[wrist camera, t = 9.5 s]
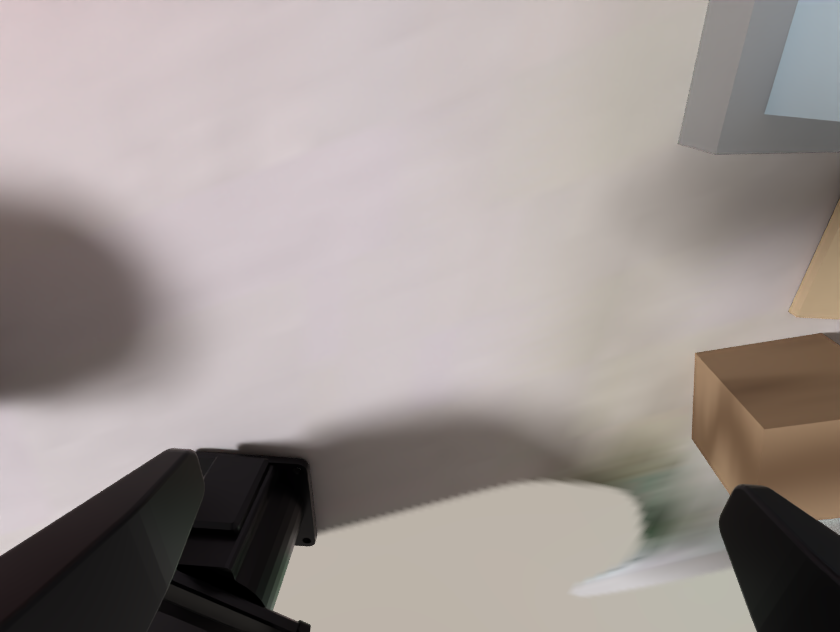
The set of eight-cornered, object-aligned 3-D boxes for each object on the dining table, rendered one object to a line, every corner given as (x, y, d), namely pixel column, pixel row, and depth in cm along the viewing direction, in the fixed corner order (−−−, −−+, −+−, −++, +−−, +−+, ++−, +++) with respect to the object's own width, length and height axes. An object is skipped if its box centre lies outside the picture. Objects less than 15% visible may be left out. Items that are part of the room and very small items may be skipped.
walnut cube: (803, 422, 21) (896, 512, 17) (690, 437, 22) (751, 526, 18) (820, 332, 19) (931, 407, 15) (694, 351, 20) (764, 429, 16)
